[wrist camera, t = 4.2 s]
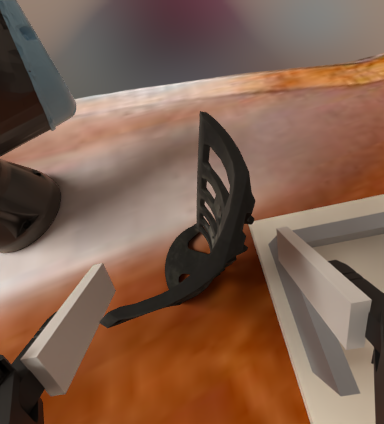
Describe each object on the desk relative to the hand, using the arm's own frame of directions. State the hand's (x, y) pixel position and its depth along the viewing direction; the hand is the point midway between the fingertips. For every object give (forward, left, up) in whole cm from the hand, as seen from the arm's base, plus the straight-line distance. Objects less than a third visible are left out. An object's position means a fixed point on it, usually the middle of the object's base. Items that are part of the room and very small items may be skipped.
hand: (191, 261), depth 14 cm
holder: (-2, 0, -13) cm, 13 cm away
